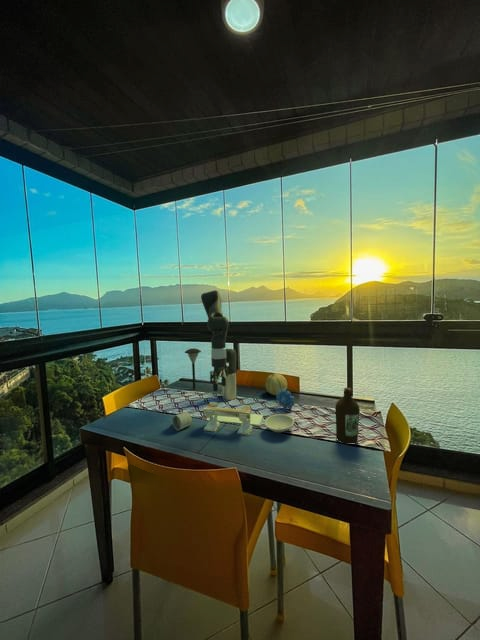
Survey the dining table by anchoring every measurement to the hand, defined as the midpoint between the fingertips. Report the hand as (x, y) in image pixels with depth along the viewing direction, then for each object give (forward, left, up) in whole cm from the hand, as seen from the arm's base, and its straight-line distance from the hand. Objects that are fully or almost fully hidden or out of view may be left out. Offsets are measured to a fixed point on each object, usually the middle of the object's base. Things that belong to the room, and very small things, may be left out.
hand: (219, 388), depth 142 cm
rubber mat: (-16, +3, -23) cm, 28 cm away
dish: (-7, +29, -23) cm, 38 cm away
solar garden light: (-55, -39, -23) cm, 71 cm away
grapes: (-34, +29, -23) cm, 50 cm away
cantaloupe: (-57, +21, -23) cm, 64 cm away
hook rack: (-3, +3, -23) cm, 23 cm away
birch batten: (-2, +3, -15) cm, 15 cm away
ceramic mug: (0, -22, -23) cm, 32 cm away
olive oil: (-5, +61, -23) cm, 65 cm away
